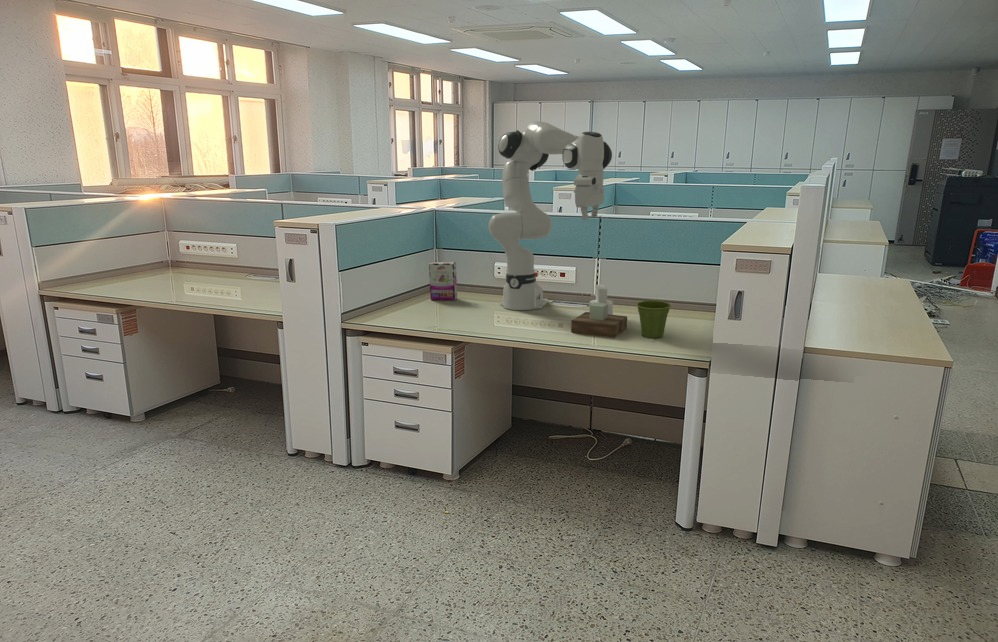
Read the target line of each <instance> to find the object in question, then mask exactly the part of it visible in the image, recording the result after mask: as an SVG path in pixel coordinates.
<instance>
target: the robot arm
mask: <svg viewBox="0 0 998 642" xmlns="http://www.w3.org/2000/svg"><path fill="white" fill-rule="evenodd" d="M497 149H498V153H499V154H500V156H502V157H503V158H505V159H507V160H509V161H507V162H506V163H505V164H504V166H503V169H502V173H501V174H502V176H501V177H502V178H501V179H502V180H501V181H502V192H503V194H502V195H503V202H504V204H505V205H506V207H507V208H508V209H510V210H512V211H513V212H511V211H510V212H501V213H496V214H493V215H492V216H491V217H490V219H489V221H488V232H489V234H490V236H491V237H492V238H493V239H494V240H496V241H497V242H498V243H499V244H500V245H501V247H502V248H503V250H504V254H505V258H506V259H505V260H506V273H505V282H506V283H505V284H504V285H503V291H502V292H503V293H502V301H500V302H499V304H500V306H502V307H503V308H505V309H507V310H514V311H528V310H530V311H531V310H541V309H543V308H544V307H545V306H546V305H547V304H548V303H549V299H548V298H544V291H543V289H544V288H542V286H540V285H539V284H538V282H537V278H538V276H539V273H538V272H537V271H536V272H535V267H534V266H535V256H534V253H533V252H532V251H531V250H530V249H528V248H526V247H523V246H521V245H520V241H521V240H538V239H542V238H547V237H549V235H550V234H551V232H552V228H553V222H552V219H551V217H550V215H549V214H548V213H547V212H544V211H543V210H541V209H540V208H539V207H538V206H537V205H536V203H535V202H534V201H533V198H532V195H531V188H530V182H529V170H530V171H532V172H533V171H536V170H537V169H538V168H541V167H542V166H543V165H544V164H546V163H547V161H548V159H549V155H562V157H561V158H562V162H563V164H564V165H565V167H566V168H567V169H569V170H578V171H577V173H578V174H577V176H576V177H575V178H574V180H573V185H574V201H575V202H574V204H575V207H576V208H580V211H581V212H580V214H581V215H582V216H581V220H583V221H587V220H588V219H589V214H588V211H589V208H590V207H592V211H591V213H590V214H591V216H590V217H591V218H597V217H598V212H599V209H600V205H603V204H604V202H605V188H604V170H605V169H606V168H607V167H608V165H610V163H611V161H612V158H613V152H612V149H611V146H610V145H609V144H608V143H607V142H606V141H604V137H603V135H602V134H601V133H600V132H596V131H584V132H581V133H580V135H579V136H578V135H574V134H573V133H570V132H569V131H566V130H563V129H561V128H559V127H557V126H555V125H553V124H551V123H549V122H546V121H538V120H535V121H532V122H530V123H529V124H528V125H527V126H526V128H525V131H524V132H520V130H518V129H517V130H514V131H508V132H505V133H504V134H503V135H502V136H500V139H499V142H498V148H497ZM514 211H515V212H514Z"/></svg>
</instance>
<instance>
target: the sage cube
mask: <svg viewBox="0 0 998 642" xmlns="http://www.w3.org/2000/svg"><path fill="white" fill-rule="evenodd" d="M607 317H608V304H605V303H593V304H591V305H590V319H594V320H604V319H606V318H607Z"/></svg>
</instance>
